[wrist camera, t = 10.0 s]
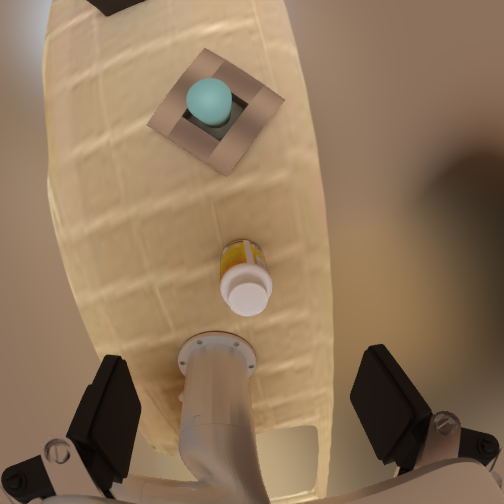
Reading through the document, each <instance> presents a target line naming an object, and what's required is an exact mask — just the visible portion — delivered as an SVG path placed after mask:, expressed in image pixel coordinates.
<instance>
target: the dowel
mask: <svg viewBox="0 0 504 504" xmlns="http://www.w3.org/2000/svg"><path fill="white" fill-rule="evenodd" d="M231 102H232V95H231V91H230V89H229V87H228V86H227V85H226V84H225V83H224V82H222V81H220V80H218V79H214V78H206V79H202V80H200V81H198V82H196V83H195V84H194V85H193V86H192V87H191V88H190V89H189V91H188V94H187V97H186V103H187V107H188V109H189V111H190V112H191V113H192V114H193V115H194V116H195V117H196V118H198V119H199V120H200V121H202V122H203V123H204V124H206V125H207V126H209V127H211V128H219V127H222V126H224V125H225V124H226V123H227V122H228V121H229V119H230V114H231Z"/></svg>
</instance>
